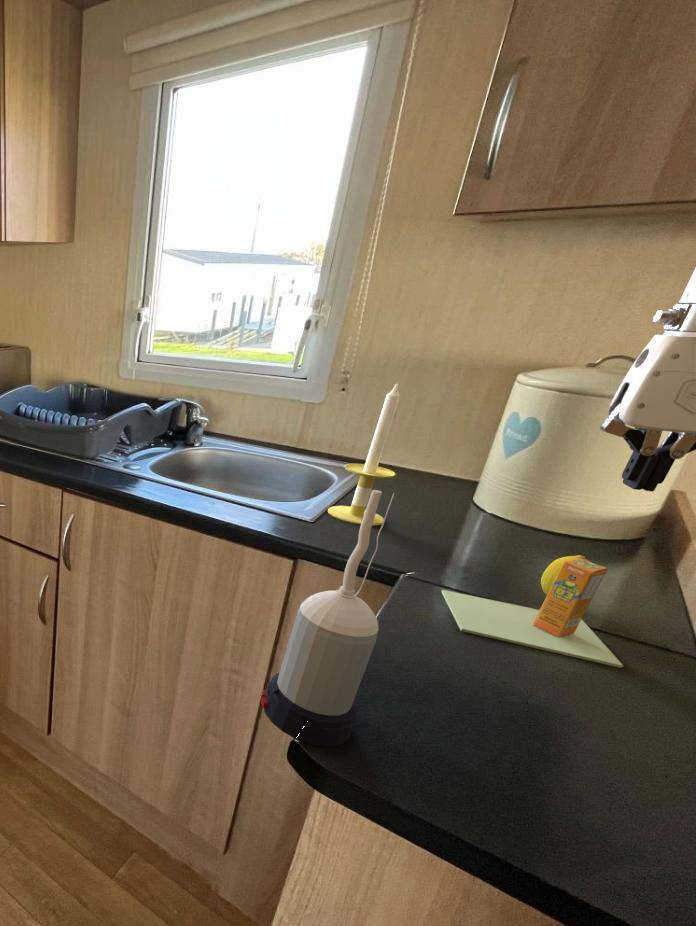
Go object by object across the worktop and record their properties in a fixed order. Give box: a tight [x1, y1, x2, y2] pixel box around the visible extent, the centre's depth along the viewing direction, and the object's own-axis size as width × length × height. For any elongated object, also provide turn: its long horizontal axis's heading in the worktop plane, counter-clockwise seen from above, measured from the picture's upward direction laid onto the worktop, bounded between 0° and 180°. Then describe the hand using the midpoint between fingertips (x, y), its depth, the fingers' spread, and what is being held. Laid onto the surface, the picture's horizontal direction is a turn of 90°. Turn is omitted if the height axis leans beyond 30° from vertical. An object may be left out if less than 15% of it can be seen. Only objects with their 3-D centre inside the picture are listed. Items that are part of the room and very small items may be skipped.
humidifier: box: [260, 489, 395, 748], centre depth 52 cm, size 8×8×25 cm
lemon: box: [540, 554, 591, 596], centre depth 79 cm, size 6×6×8 cm
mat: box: [440, 589, 624, 669], centre depth 75 cm, size 16×12×1 cm
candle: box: [327, 380, 401, 527], centre depth 106 cm, size 10×10×27 cm
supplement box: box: [533, 558, 608, 637], centre depth 72 cm, size 3×3×10 cm
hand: (637, 487), depth 65 cm, fingers closed
